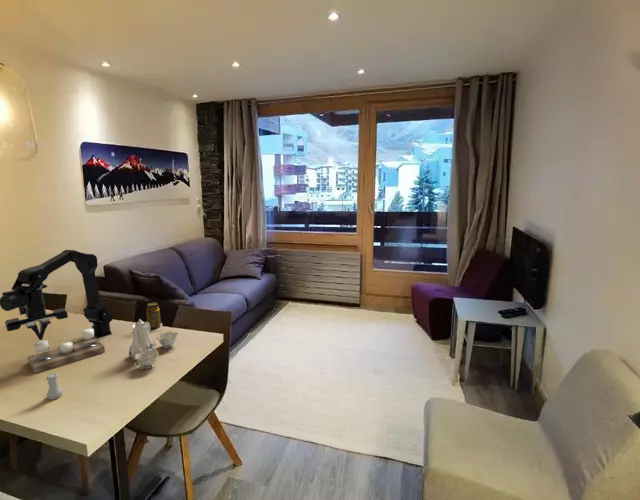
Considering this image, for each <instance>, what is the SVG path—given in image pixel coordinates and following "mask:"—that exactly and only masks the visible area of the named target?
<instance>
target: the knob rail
mask: <svg viewBox="0 0 640 500" xmlns="http://www.w3.org/2000/svg"><path fill="white" fill-rule="evenodd" d="M73 348H74V350H73V351H72V352H70V353H66V354H62V353H61V351H60V347H59V348H54V349H52V350H46V351H44V352H39V353H37V354H34V355H29V356H28V357H27V358H28V363H29V365H30V367H31V369H32V371H33V373H34V374H37V373H41V372H45V371H48V370H51V369H54V368H57V367H60V366H63V365H67V364H70V363H73V362H77V361H81V360H84V359H86V358H87V359H88V358H90V357H93V356H97V355H100V354H103V353H105V352H106V348H105V346H104V345H103V344H102V343H101V342H100V341H99V340H98V338H97V337H95V338H94V337H93V338H91V339H86V340H84V341H80V342H77V343H76V342H75V343H73Z"/></svg>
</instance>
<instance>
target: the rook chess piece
mask: <svg viewBox="0 0 640 500" xmlns="http://www.w3.org/2000/svg"><path fill="white" fill-rule="evenodd" d="M58 377H59V375H57V373H55V372H52V373H49V374H47V376H46V379H45V380H46V381H47V384H48V390H47V393H46V398H47V399H48V400H52V401H53V400H57V399H59V398H61V397H62V396H63V394H64V393H63V389H62V388H61V387H60V386H59V383H58Z"/></svg>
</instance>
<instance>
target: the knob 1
mask: <svg viewBox="0 0 640 500" xmlns="http://www.w3.org/2000/svg"><path fill="white" fill-rule="evenodd" d="M33 348H34V352H35V353H44V352H47V351H49V350H50V345H49V340H47V339H46V340H45V339H44V340H43V339H42V340H38V341H36V342H34V343H33Z"/></svg>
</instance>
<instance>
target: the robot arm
mask: <svg viewBox="0 0 640 500" xmlns="http://www.w3.org/2000/svg"><path fill="white" fill-rule="evenodd" d="M70 262H71V263H74V265H75V267H76V269H77V270H78V271H79V273H81V277H82V281H83V286H84V290H85V297H86V301H87V302H86V303H87V304H86V306H85V307H83V309H82V310H83V317H85V319H86V320H88V322H89V323H90V324H91V323H92V326H91V328H92V329H94V337H95V338H96V339H98V338H101V337H104V336H108V335H112V334H113V332H112V331H111V325H110V323H111V322H112V321H113V315H112V314H110V313H109V312H108V310H107V308H106V306H105V305H104V303H102V301H101V299H100V293H99V288H98V282H97V276H96V270H97V268H98V257H97V255H95V254H94V253H84V252H80V251H78V250H75V249H65V250H62V251H61V253H59V254H56V255H55V256H53V257H51V258H50V259H48V260H46V261H44V262H43V263H41V264H39V265H36V266H30V267H27V268H25V269H22V270H20V271H19V272H18V274H17V278H16V279H15V281H14V284H13V285H12V287H11V290H10V291H4V292H2V296H1V297H0V307H1V309H2V310H4V311H6V312H10V311H13V310H15V309H18V311H19V316H22V315H25V318H23V319H19V318H18V317H15V318H10V319H6V320H5V321H4V324H5V325H4V327H5V329H6V330H7V332H12V331H16V330H17V331H18V330H19V329H20V328H21V327H22V326H23V325H25V327H26V328H27V329H28V330H29V329H31V330H32V331H33V332H34V333H35V334H36V336H37V339H38V341H42V340H43V339H44V335H45V332H46V329H47V327H48V325H51V323H52V322H51V319H53V318H55V319H57V320H58V321H59V320H64V319H67V318H68V315H69V314H68V311H67V310H66V309H65V308H63V307H62V308H56V309H52V312H50V313H47V312H46V311H47V310H46V305H45V300H44V293H43V289H46V288H48V285H47V284H45V283H44V282H45V281H46V280H47V279H48V277H49V275H51V274H52V273H53V272H55V271H57V270H58V269H60V268H62V267H63V266H65V265H66V264H68V263H70ZM36 322H38V323H39V327H38V324H37V323H36Z"/></svg>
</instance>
